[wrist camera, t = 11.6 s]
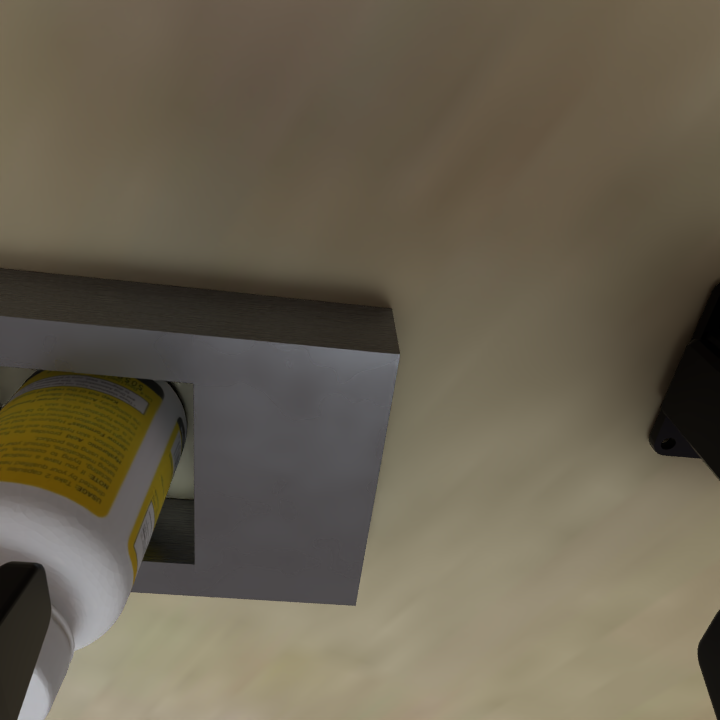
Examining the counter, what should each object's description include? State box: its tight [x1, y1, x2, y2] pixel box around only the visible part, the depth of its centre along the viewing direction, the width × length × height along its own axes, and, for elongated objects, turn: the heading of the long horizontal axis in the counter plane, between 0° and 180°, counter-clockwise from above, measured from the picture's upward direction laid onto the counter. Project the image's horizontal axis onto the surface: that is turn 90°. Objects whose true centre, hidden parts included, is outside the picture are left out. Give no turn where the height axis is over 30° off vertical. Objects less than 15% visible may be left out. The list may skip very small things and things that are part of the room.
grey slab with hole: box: [0, 268, 400, 606], centre depth 20 cm, size 18×10×3 cm, turn 83°
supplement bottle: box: [0, 369, 187, 720], centre depth 17 cm, size 5×5×10 cm
